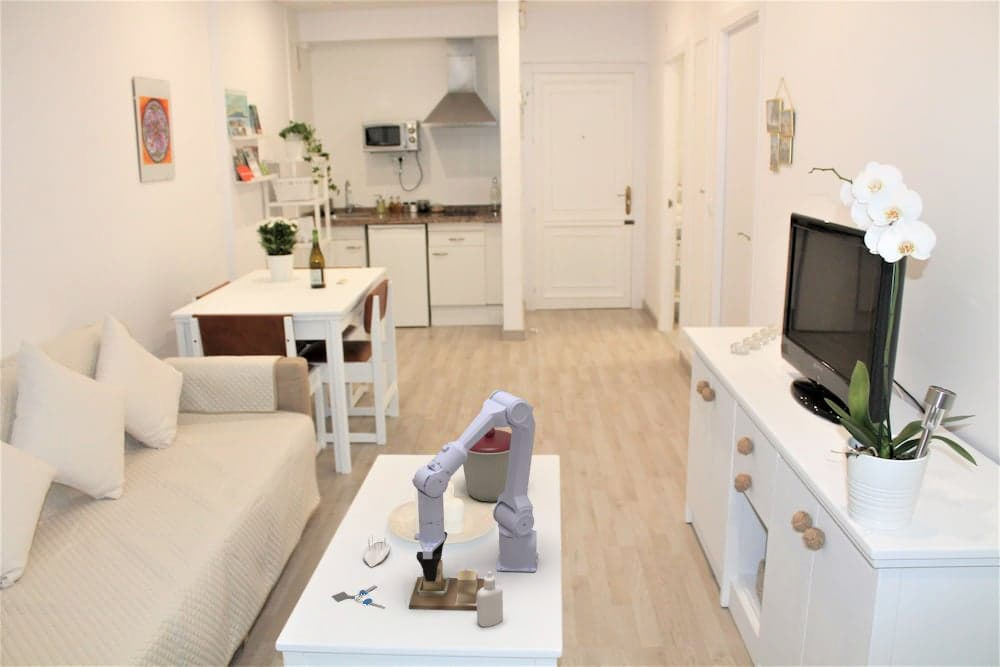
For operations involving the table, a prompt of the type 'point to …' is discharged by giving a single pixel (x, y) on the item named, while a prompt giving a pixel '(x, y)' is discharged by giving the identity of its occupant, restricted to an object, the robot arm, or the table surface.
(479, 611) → the eye dropper bottle
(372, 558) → the pincushion
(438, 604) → the board
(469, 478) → the canister
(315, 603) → the table surface
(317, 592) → the table surface
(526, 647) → the table surface
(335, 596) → the key chain
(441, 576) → the maple peg
